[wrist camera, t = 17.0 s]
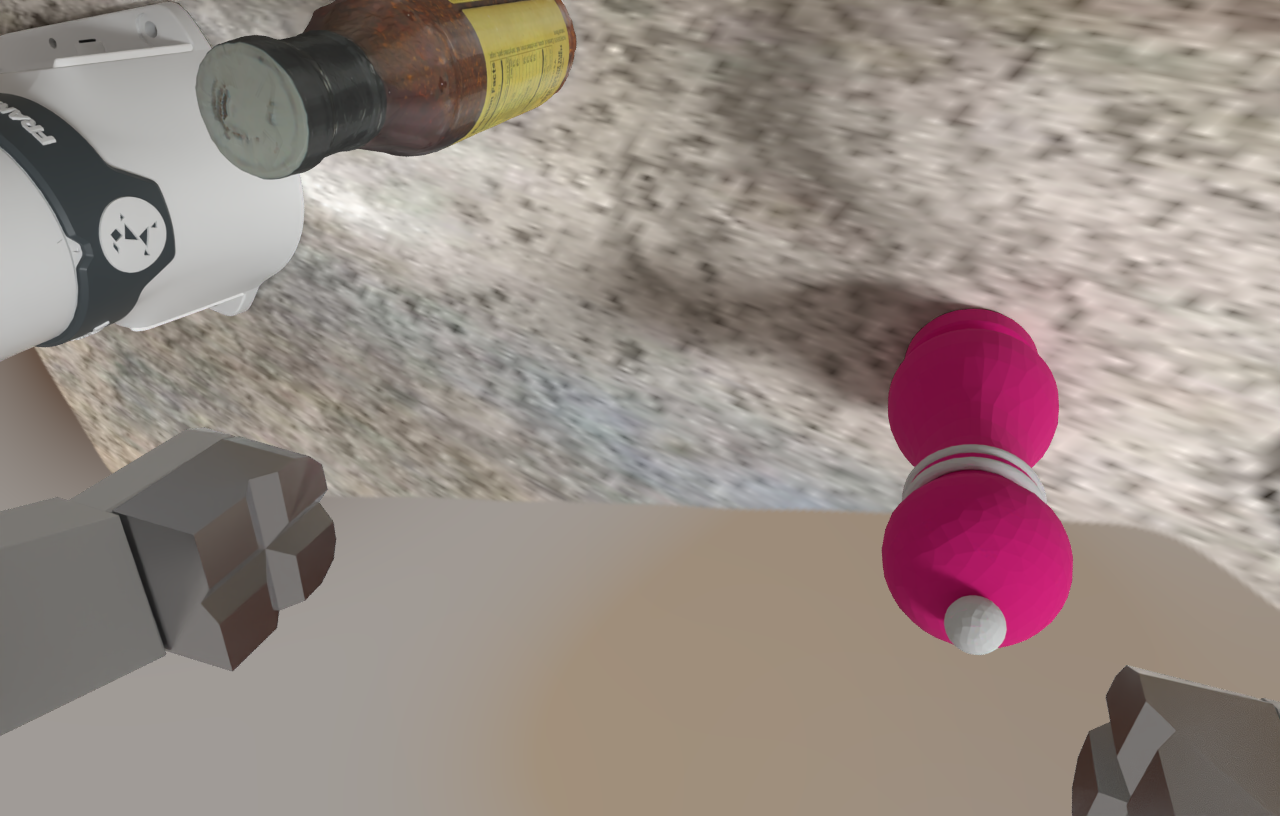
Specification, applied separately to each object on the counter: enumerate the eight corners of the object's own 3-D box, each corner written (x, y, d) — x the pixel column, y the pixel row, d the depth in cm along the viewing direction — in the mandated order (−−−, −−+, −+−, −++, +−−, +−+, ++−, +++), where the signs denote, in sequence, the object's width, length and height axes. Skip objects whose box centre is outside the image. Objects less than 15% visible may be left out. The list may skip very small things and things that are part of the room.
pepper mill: (964, 454, 43) (966, 764, 27) (864, 364, 43) (802, 622, 26) (1084, 368, 39) (1175, 670, 23) (975, 267, 39) (985, 501, 22)
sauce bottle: (447, 34, 42) (115, 85, 25) (522, -62, 38) (195, -76, 22) (532, 137, 43) (266, 249, 26) (613, 51, 40) (365, 120, 23)
